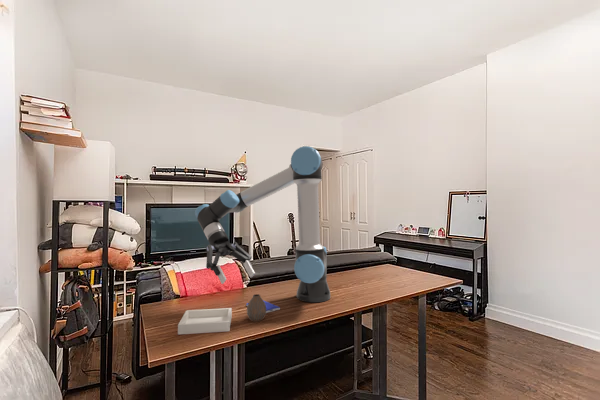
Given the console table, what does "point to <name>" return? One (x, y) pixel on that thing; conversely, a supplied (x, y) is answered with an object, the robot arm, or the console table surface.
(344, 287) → the console table surface
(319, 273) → the robot arm
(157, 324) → the console table surface
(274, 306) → the hard drive
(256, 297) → the vase
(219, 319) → the box
